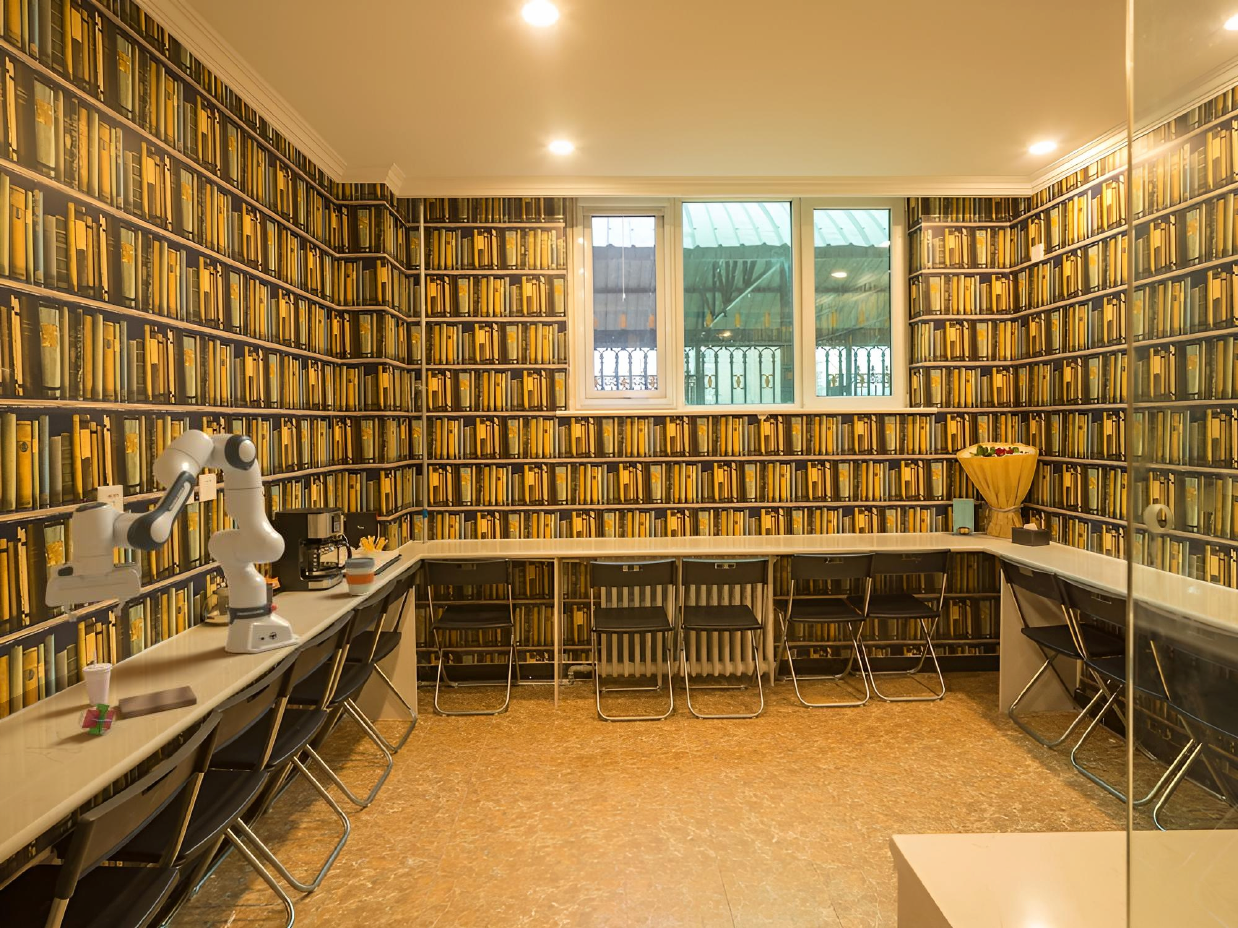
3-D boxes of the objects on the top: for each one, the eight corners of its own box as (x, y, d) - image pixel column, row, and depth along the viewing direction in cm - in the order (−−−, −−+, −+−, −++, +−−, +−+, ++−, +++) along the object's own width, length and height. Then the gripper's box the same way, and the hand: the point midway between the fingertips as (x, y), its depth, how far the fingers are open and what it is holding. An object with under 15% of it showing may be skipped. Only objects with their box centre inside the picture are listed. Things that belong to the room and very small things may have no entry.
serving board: (189, 690, 199) (189, 685, 199) (196, 703, 190) (196, 697, 190) (118, 704, 189) (118, 699, 189) (122, 718, 180) (122, 712, 180)
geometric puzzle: (112, 713, 178) (90, 694, 173) (131, 717, 175) (109, 697, 171) (88, 739, 173) (65, 720, 168) (107, 744, 170) (84, 725, 165)
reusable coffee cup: (380, 593, 320) (380, 559, 319) (353, 598, 311) (352, 563, 310) (366, 589, 328) (366, 556, 328) (340, 593, 319) (339, 559, 319)
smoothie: (96, 698, 194) (94, 646, 193) (119, 698, 194) (117, 646, 193) (77, 707, 187) (75, 654, 187) (101, 707, 187) (99, 654, 187)
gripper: (140, 559, 198) (141, 609, 198) (44, 568, 185) (46, 622, 186) (142, 562, 193) (144, 614, 193) (44, 571, 180) (46, 627, 181)
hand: (95, 618), depth 189 cm, fingers open, 8 cm apart
